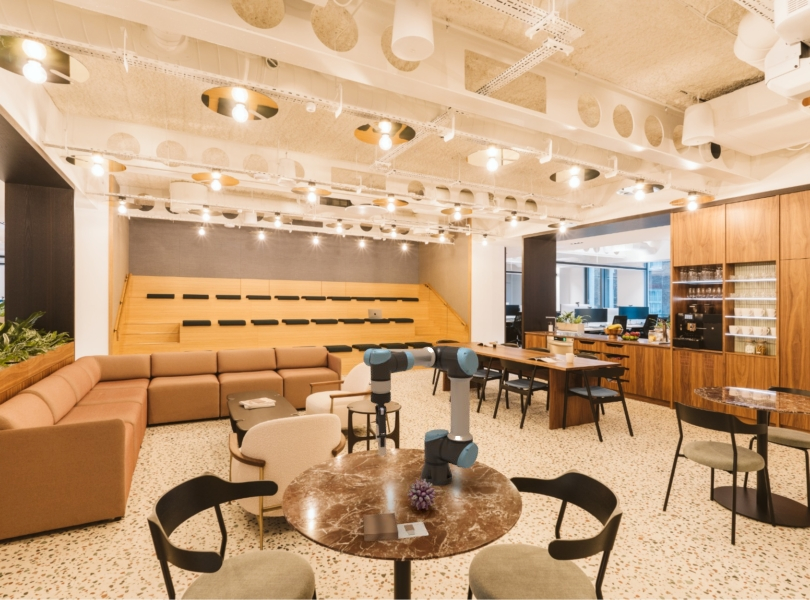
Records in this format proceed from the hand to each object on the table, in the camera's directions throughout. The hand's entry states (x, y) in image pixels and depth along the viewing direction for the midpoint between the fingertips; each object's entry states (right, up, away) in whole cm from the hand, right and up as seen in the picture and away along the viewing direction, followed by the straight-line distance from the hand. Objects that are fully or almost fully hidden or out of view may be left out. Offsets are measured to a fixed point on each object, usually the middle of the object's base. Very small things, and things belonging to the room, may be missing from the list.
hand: (380, 448), depth 152 cm
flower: (+16, -31, +16) cm, 38 cm away
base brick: (0, -31, -1) cm, 31 cm away
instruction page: (+11, -31, 0) cm, 32 cm away
